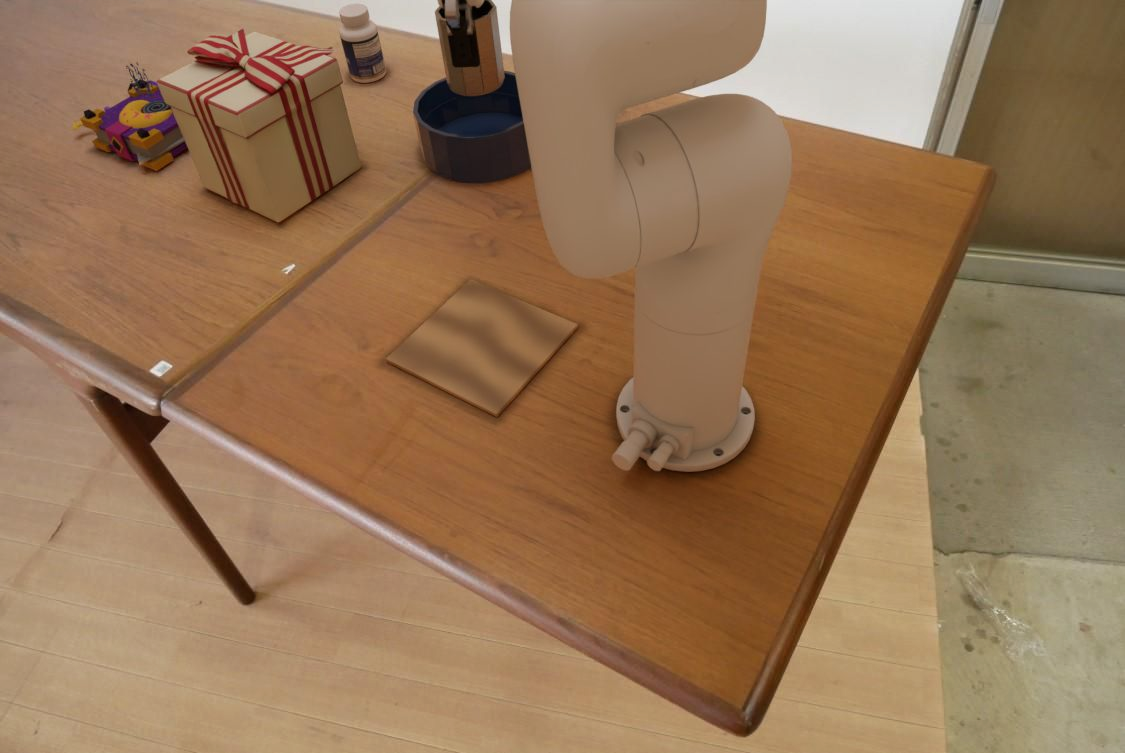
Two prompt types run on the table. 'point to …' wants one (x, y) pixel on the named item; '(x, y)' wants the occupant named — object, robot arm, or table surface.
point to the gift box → (263, 121)
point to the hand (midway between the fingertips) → (471, 49)
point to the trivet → (482, 346)
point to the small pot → (490, 53)
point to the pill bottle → (361, 44)
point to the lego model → (137, 126)
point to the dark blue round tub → (472, 132)
